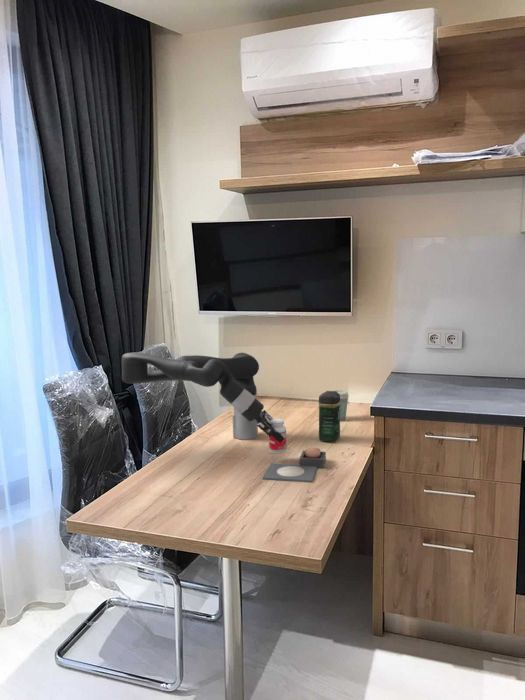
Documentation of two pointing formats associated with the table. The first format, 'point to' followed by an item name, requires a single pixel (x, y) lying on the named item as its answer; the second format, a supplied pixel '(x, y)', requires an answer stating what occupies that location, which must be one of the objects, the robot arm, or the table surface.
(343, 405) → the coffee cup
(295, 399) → the table surface
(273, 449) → the pill bottle
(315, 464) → the button housing
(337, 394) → the coffee jar
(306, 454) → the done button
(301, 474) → the grey rectangular pad
